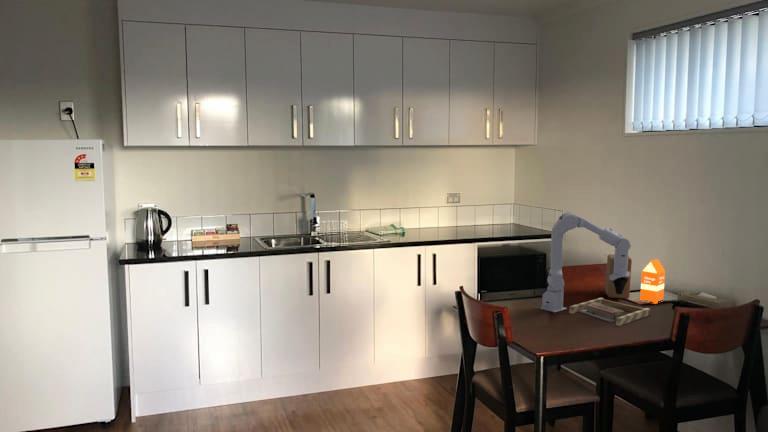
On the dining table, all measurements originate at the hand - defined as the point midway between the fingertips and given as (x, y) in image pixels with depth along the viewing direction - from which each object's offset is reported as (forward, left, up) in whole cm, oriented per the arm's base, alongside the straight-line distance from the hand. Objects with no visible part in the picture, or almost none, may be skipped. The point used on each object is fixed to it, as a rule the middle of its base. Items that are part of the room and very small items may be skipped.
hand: (619, 293), depth 280 cm
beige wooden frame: (-7, 0, -8) cm, 11 cm away
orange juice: (+30, 0, -8) cm, 32 cm away
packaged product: (-12, 0, -9) cm, 15 cm away
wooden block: (+25, +15, -8) cm, 31 cm away
